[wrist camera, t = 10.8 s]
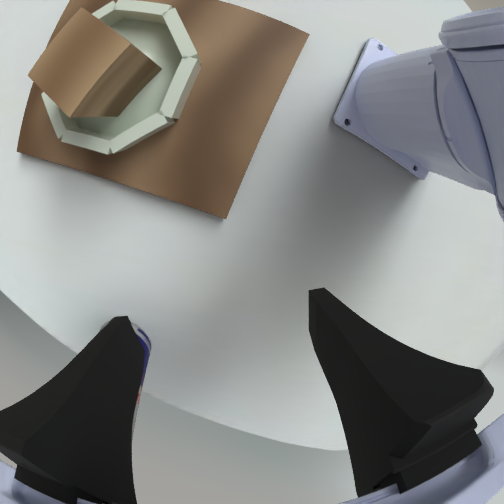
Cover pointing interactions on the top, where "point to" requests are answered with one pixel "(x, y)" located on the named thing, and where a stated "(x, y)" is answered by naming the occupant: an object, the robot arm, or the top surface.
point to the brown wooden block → (92, 69)
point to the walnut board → (191, 109)
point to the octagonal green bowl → (153, 94)
